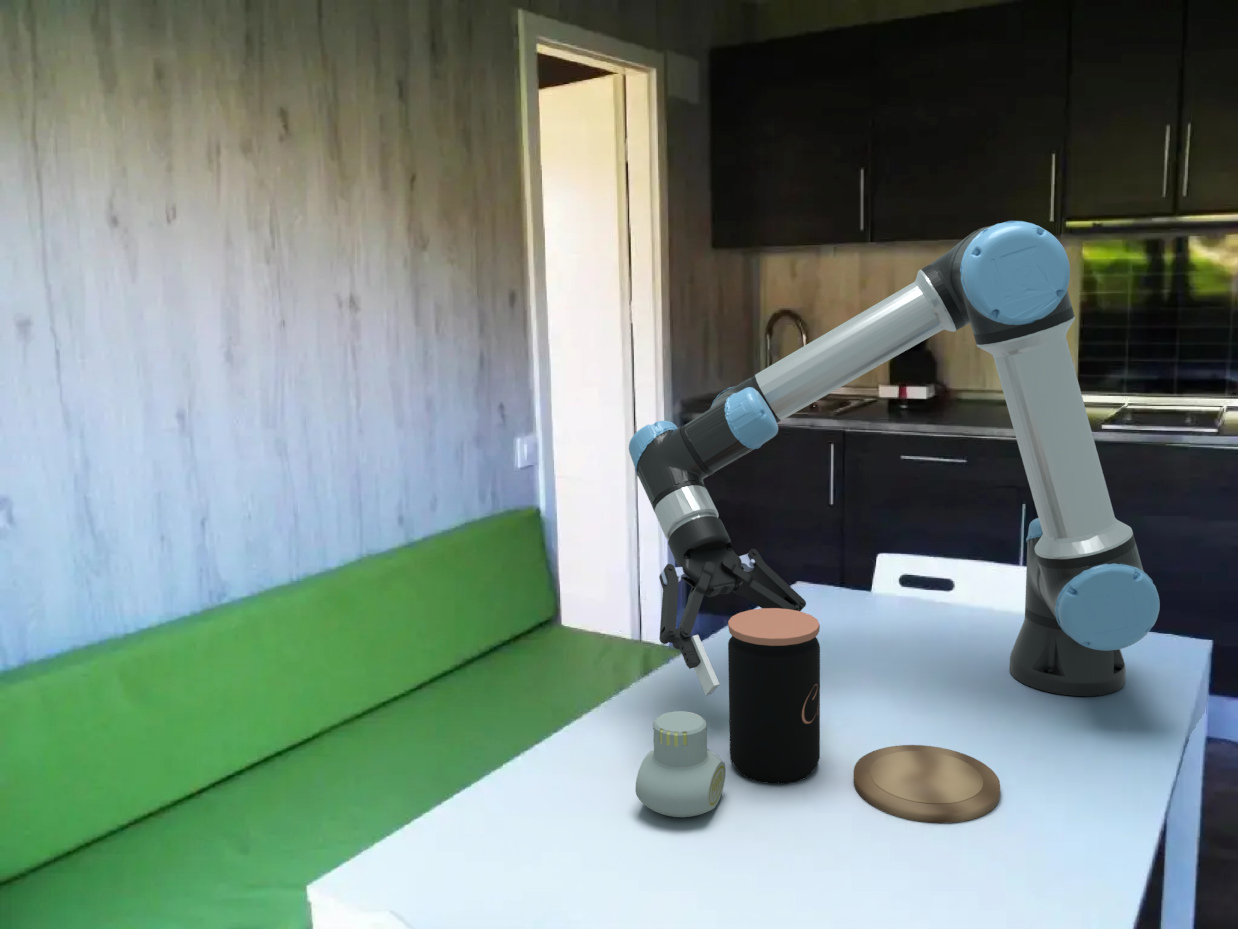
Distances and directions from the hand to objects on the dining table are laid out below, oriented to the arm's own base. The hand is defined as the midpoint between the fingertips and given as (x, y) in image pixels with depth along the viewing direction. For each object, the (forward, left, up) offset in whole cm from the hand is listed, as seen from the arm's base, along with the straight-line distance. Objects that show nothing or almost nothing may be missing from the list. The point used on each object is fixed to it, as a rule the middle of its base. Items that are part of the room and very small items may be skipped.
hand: (761, 678), depth 125 cm
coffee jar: (-1, +1, -11) cm, 11 cm away
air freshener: (+11, +9, -11) cm, 18 cm away
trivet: (-17, +8, -11) cm, 22 cm away
